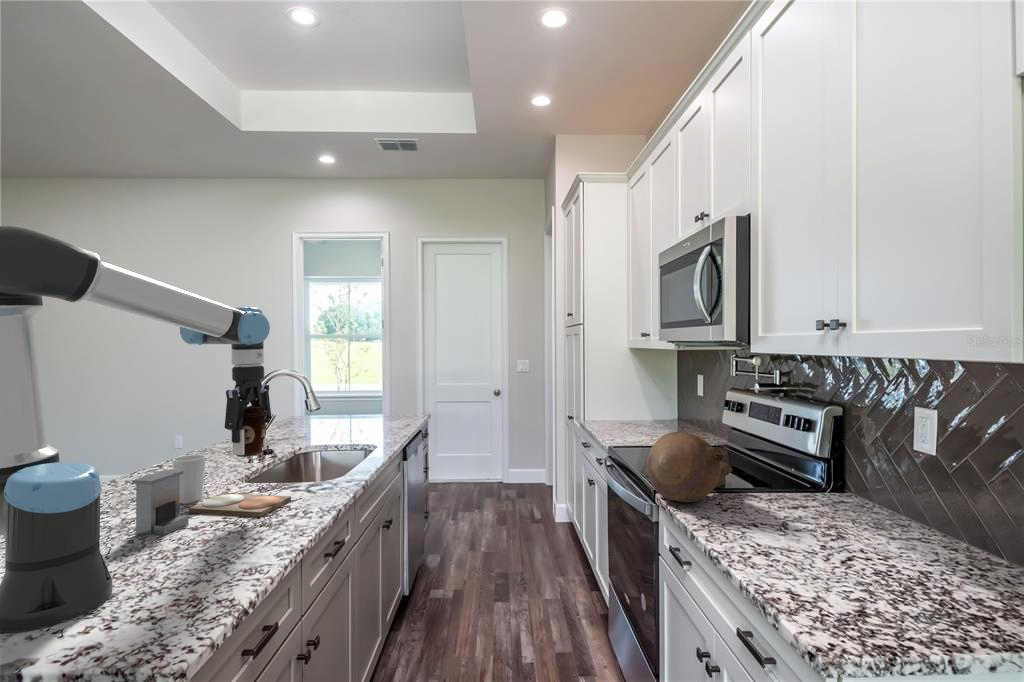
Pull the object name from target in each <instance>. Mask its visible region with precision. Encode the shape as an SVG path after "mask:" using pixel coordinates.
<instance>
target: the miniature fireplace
mask: <svg viewBox="0 0 1024 682" xmlns="http://www.w3.org/2000/svg"><path fill="white" fill-rule="evenodd" d="M182 474H183V471H174V470H171V469H170V470H168V469H166V470H162V471H159V472H155V473H151V474H148V475H145V476H142V477H139V478H135V479H132V485H133V484H134V485H135V509H136V510H135V534H136V535H140V534H142V535H144V536H152V534H153V535H155V534H157V535H158V536H165V535H167V533H168V534H170V533H172V532H174V531H177V530H178V528H179V529H181V528H183V527H184V526H188V525H189V521H190V520H189V515H183V514H182V515H180V504H181V503H180V475H182ZM169 532H170V533H169ZM157 535H156V536H157Z"/></svg>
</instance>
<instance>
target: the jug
mask: <svg viewBox="0 0 1024 682" xmlns="http://www.w3.org/2000/svg"><path fill="white" fill-rule="evenodd" d="M724 458H725V453H724V451H723V449H722V448H721V447H716V446H712V445H711V444H710V443H709V442H708V441H706V440H705V439H703V438H701V437H699V435H696V434H693V433H690V432H687V431H670V432H668V433H665V434H664V435H662V436H661V437H660V438H659V439H657V441H656V442H654V443H653V445H652V446H651V448H650V451H649V452H648V456H647V459H646V467H645V468H644V470H643V474H644V477H645V478H647V479H649V481H650V484H651V485H652V487H653V488H654V489H655V491H656V492H657V493H658V494H660V495H661V496H662V497H664V498H665V499H667V500H670V501H675V502H679V503H694V502H699V501H701V500H703V499H705V498H706V497H707V496H708V495H710V494H711V492H712V491H714V490H715V488H718V487H721V486H723V485H725V484H726V483H727V479H726V477H727V476H728V475H729V474H731V472H732V471H733V467H732V466H731V465H730V464H728V463H727V462H725V461H723V460H724Z"/></svg>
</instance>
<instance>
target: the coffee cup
mask: <svg viewBox="0 0 1024 682" xmlns="http://www.w3.org/2000/svg"><path fill="white" fill-rule="evenodd" d="M244 410H245V413H244V414H243V415H242V416H243V418H244V420H243V424H242V428H241V429H244V452H245V455H235V456H236V457H239V458H249V457H259V456H261V455H262V456H263V455H264V450H263V448H262V446H263V440H264V438H266V434H265V429H266V430H267V425H266V426H265V420H266V417H267V414H268V412H267V411H266V410H265V406H252V405H249V406H248V405H247V408H246V409H244Z"/></svg>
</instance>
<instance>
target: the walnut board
mask: <svg viewBox="0 0 1024 682" xmlns="http://www.w3.org/2000/svg"><path fill="white" fill-rule="evenodd" d="M291 501H292V496H291V495H290V496H289V495H273V494H272V495H271V494H254V493H252V494H251V493H234V492H233V493H232V492H224V493H221V494H219V495H215V496H213V497H209V498H207V499H204V500H203V502H199V503H198V504H194V505H193V506H190V507H188V510H187V511H188V513H189V514H205V515H223V516H239V517H241V516H242V517H257V518H261V517H263V516H266V515H267V514H269V513H271V512H272V511H274V510H276V509H278V508H280V507H282V506H283V505H286V504H287V503H289V502H291Z"/></svg>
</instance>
